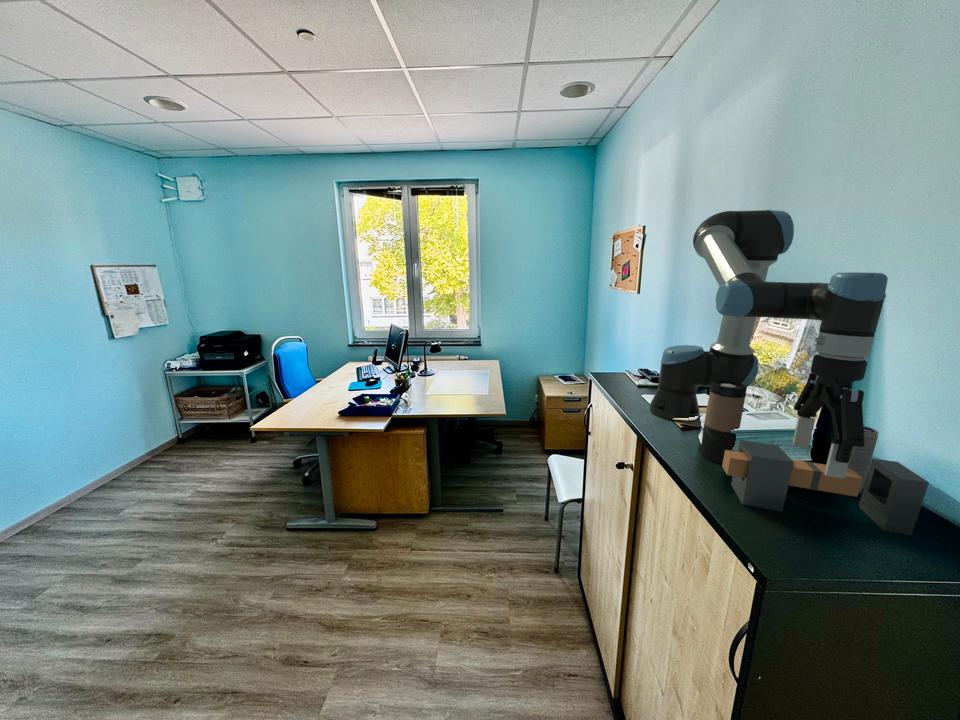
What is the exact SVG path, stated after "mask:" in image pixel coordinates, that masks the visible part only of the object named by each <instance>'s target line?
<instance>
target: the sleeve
mask: <svg viewBox="0 0 960 720" xmlns="http://www.w3.org/2000/svg"><path fill="white" fill-rule="evenodd" d="M737 452H744V454H745V455H746V456H747V458H748V464H747V469H746V474H745V478H741V477H735V476H732V477H731V483H730V486H732V489H733V491H734V492H735V494H736V495H737V498H738V500H739V501H740V503H741V504H742V505H743V506H749V507H750V506H751V507H756V508H759V509H766V510H771V511H775V512H781V513H782V512H783V511H784V507H785V502H786V498H787V493H788V489H789V482H790V477H791V473H792V469H793V464H794V462H793V461H792V460H793V459H791V458H790V457H789V456H788V454H787V453H786V452H785V451H784V450H783V449H782V448H781V447H780V446H779V445H778V444H772V443H766V442H765V443H764V442H757V441H751V440H743V439H740V440H739V442H738V447H737Z"/></svg>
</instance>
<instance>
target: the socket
mask: <svg viewBox="0 0 960 720" xmlns="http://www.w3.org/2000/svg"><path fill="white" fill-rule="evenodd" d="M929 484H930V482H929V481H928V480H926V479H924V478H923V477H922V476H920V475H919V474H917V473H915V472H914V471H912V470H911V469H909V468H908V467H907V466H905V465H903V464H902V463H900V462H899V461H893V460H888V459H887V460H886V459H878V458H873V457H872V459H871V463H870V466H869V470H868V473H867V477H866V480H865V484H864V487H863V490H862V492H861V496H860V500H859V503H858V508H859V509H861V510H862V511H863V512H864V513H865V515H867V516H868V517H869V518H870V519H871V520H872V521H873V522H874V523H876V525H877V526H878V527H880V529H881V530H882V531H885V532H889V533H895V534H901V535H906V536H911V537H912V535H913V532H914V529H915V525H916V524H917V520H918V517H919V515H920V511H921V509H922V506H923V502H924V498H925V496H926V493H927V489H928V488H929Z"/></svg>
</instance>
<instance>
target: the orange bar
mask: <svg viewBox="0 0 960 720" xmlns="http://www.w3.org/2000/svg"><path fill="white" fill-rule="evenodd" d="M791 460H792V461H793V462H794V464H793V469H792V473H791V477H790V482H789V486H790V487H797V488H802V489H808V490H812V491H821V492H825V493H833V494H837V495H838V494H839V495H844V496H850V497H859V494H860V493H859V490H860V486H861V483H862V479H863V478H862V477H861V476H859V475H858V474H857V473H856V472H854V471H853V470H852V469H851V468H847V471H846V475H845V479H844V478H837V477H831V476H826V475H825V474H824V473H825V469H826V464H824V463H819V462H818V463H816V462H812V461H806V460H802V461H801V460H796V459H791ZM747 464H748V458H747V456H746V455H745V454H744V452H738V450H737V451H736V450H734V451H730V450H725V453H724V459H723V463H721V467H722V469H723V471H724V472H725V474H726V475H727V476H730V477H733V476H735V477H741V478H745V474H746V469H747ZM789 486H788V487H789Z"/></svg>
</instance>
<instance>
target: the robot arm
mask: <svg viewBox="0 0 960 720" xmlns="http://www.w3.org/2000/svg"><path fill="white" fill-rule="evenodd" d="M794 234H795V226H794V221H793V219H792V217H791V215H790V214H789V213H788V212H787V211H784V210H772V209H767V210H765V209H764V210H725V211H720V212H718V213H715V214H713V215H711V216H709V217H707V218H706V219H705V220H704V221H702V222H701V223H700V224H699V226H698V227H697V229H696V230H695V232H694V235H693V237H692V243H693V244H692V245H693V248H694V250H695V253H696V254H697V255H698V256H699V257H701V258H703V259H704V260H705V262H706V265H707V266H708V267H709V269H710V271H711V273H712V276H713V277H714V278H715V281H716V283H717V284H718V286H719V287H718V289H717V292H716V294H715V304H716V305H715V308H716V311H717V313H719V314H720V315H722V317H721V322H720V327H719V331H718V336H717V340H716V341H715V342H713V343H711V344H710V347H709V351H708V350H706V351H705V350H704V348H703V347H702V346H699V345H688V344H686V345H685V344H683V345H682V344H681V345H673V346H668V347H666V348H665V349H664V350H663V352H662V356H661V360H660V369H659V370H660V371H659V379H658V384H657V390H656V391H655V394H654V396H653V397H652V400H651V401H650V404H649V412H650V413H652V414H653V415H654V416H657V417H659V418H662V419H665V420H670V421H673V420H672V419H673V418H689V417H695V416H698V415H699V416H700V408H699V406H700V405H699V403H698V398H697V392H698V388H699V387H705V388H711V382H713V383H714V382H715V381H716V380H728V381H734V382H738V383H741V384H744V385H746V386H747V388H748V387H750V386H751V385H752V384H753V383H754V381H755V380H756V378H757V375H758V373H759V363H760V362H759V359H758V357H757V356H756V354H755V353H754V352H755V351H754V349H753V348H752V347H751V345H750V344H751V341H752V335H753V332H754V327H755V324H756V319H757V318H771V319H772V318H773V319H793V320H810V321H811V320H813V321H814V320H815V321H820V326H819V331H818V337H815V338H814V342H815V343H816V346H815V349H814V351H815V352H816V353H818V354H815V355H814V356H813V358H812V361H811V366H810V373H808V378H807V380H806V383H805V385H804V387H803V389H802V390H801V393H800V394H799V396H798V398H797V399H796V401H795V403H794V406H793V409H794V410H795V411H796V414H797V421H796V424H795V428H794V429H795V430H794V435H793V439H792V444H791V445H792V446H794V447H800V448H808V449H809V448H810V444H811V439H812V436H813V431H814V428H815V422H816V418H818V415H817V414H818V412H819V411H820V410H821V409H822V408H823V407H824V405H825V407H826V408H827V410H828V411H829V412H830V415H831V422H832V427H833V432H834V437H835V438H834V439H832V440H831V441H830V443H831V444H830V448H829V453H828V457H827V461H826V464H825V465H826V469H825V473H824V474H825V475H826V476H831V477H837V478H844V479H845V475H846V471H847V468H848V464H849V460H850V456H851V452H852V448H853V447H854V446H856V447H864V427H863V426H864V413H863V412H864V411H863V409H864V408H863V402H864V396H865V392H864V390H863V389H860V390H859V389H853V383H854V382H855V381H857V382H859V381H863V380H864V378H865V375H866V371H867V367H868V364H869V362H867V360H866V359H868V358H870V356H871V353H872V350H873V349H872V348H873V345H874V342H875V338H876V337H875V335H876V332H877V328H878V325H879V324H878V323H879V320H880V318H881V317H880V316H881V314H882V310H883V306H884V303H885V299H886V297H887V294H886V290H887V285H888V279H889V278H888V276H887V275H886V274H885V273H883V272H860V271H859V272H857V271H856V272H855V271H854V272H849V271H848V272H847V271H845V272H836V273H834V274H833V275H831V278H830V280H829V283H828V282H827V283H826V282H825V283H823V282H787V281H786V282H785V281H784V282H783V281H780V282H779V281H766V280H767V277H768V276H767V275H768V271H769V268H770V266H771V265H773V264H774V263H776V262H777V261H778V259H779V255H783V254H785V253H786V252H788V250H789V249H790V247H791V246H792V244H793V240H794V236H795V235H794Z"/></svg>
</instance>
